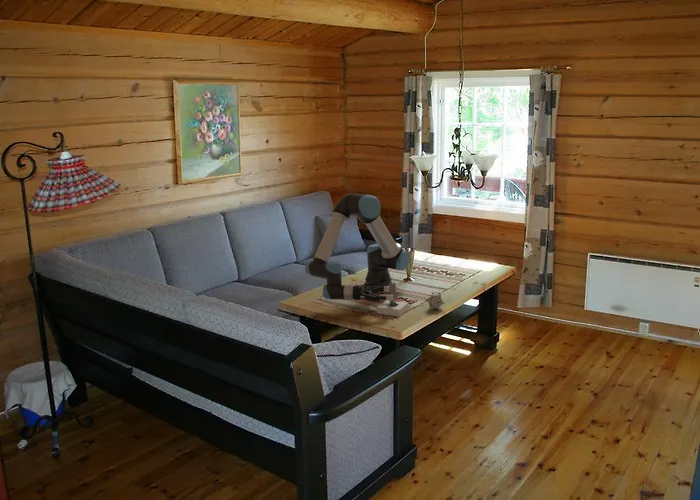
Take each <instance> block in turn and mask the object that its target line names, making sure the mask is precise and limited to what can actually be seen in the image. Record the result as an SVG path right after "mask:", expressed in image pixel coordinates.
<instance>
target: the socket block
mask: <svg viewBox="0 0 700 500" xmlns="http://www.w3.org/2000/svg"><path fill="white" fill-rule="evenodd" d="M409 307H410V306H409V302H407V301H400V300H399V301H397V300H396V307H392V306H390V300H384V302H382V303H381V304H380V305H378V306H377V307H376V308H377V309H376V311H377V312H376V313H377V315H383V314H384V315H385V316H392V317H401V316H403V314H405V313H406V312H407V311H408V310H409Z"/></svg>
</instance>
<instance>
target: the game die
mask: <svg viewBox="0 0 700 500" xmlns="http://www.w3.org/2000/svg"><path fill="white" fill-rule="evenodd" d="M441 296H442V294H435V293H434V292H432V294H431V295H430V296H429V297H428V298H426V299H425V300H426V302H427V303H428V306H429V308H428V309H429V310H431V309H434V310H436V311H439V308H440V307H441V306H442V305H443V304H445V302H444V301H443V299H442V297H441Z"/></svg>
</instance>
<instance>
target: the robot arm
mask: <svg viewBox="0 0 700 500" xmlns="http://www.w3.org/2000/svg"><path fill="white" fill-rule="evenodd" d="M381 206H382V205H381V202H380V200H379V199H378V198H377V197H376V196H374V195H370V194H360V193H347V194H345V195H344V196H342V197H341V198H340V199H339V200H338V201H337V203H336V204H335V205H334V207H333V209H332V212H331V219H330V221H329V223H328V225H327V228H326V229H325V232H324V234H323V236H322V239H321V241H320V243H319V245H318V248H317V249H316V252H315V254H314V257H313V259H312V260H310V261H308V262H306V264H305V267H304V270H305V273H306V275H309V276H311V277H315V278H319V279H324V280H326V284H324V285H323V287H322V297H323V298H324V299H325V300H331V301H332V300H336V301H338V300H339V301H340V300H346V301H348V302H349V301H361V300H366V301H371V302H376V303H380V301H386V300H392V301H393V295H390V294H378V293H381V292H384V293H389V283H390V282H393V281H392V277H391V276H392V275H390V271H389V270H396V271H405V270H406V269H407V268H408V267H409V264H410V262H411V254H410V251H408V250H406V249H403V248H402V246H401V245H400V243H398V242H397V241H395V240H394V238H393V236H392V234H391V233H390V231H389V230H388V228H387V226H386V224H385V223H384V221H383V219H382V218H381V216H380V215H381V211H382V210H381V209H382V208H381ZM352 216H354V217H357V218H358V220H359V221H360V223H362V224H363V225H366V228H367V229H368V230H369V232H370V234H371V235H372V237H373V239H374V240H375V241H376V243H374V244H370V245H368V246H367V252H366V254H367V273H366V277H365V285H366V286H364V288H362V285H360V284H357V285H356V284H355V285H353V284H343V283H342V282H343V281H342V266H341V265H342V264H341V263H340V261H336V260H335V261H334V260H333V261H332V260H331V261H329V259H330V257H331V255H332V253H333V250H334V248H335V246H336V244H337V242H338V240H339V237H340V235H341V232H342V230H343V228H344V226H345V224H346V222H348V221H349V219H350V217H352ZM397 291H398V289H397V286H396V293H397ZM376 293H377V294H376Z"/></svg>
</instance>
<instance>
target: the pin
mask: <svg viewBox="0 0 700 500" xmlns="http://www.w3.org/2000/svg"><path fill="white" fill-rule="evenodd" d="M396 283H397V282H395V281H392V282H390V283H389V285H388V287H389V292H388V293H389V294H388V295H393V301H392V300H390V306H392V307H396V301H397V292H396V287H397V284H396Z"/></svg>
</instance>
